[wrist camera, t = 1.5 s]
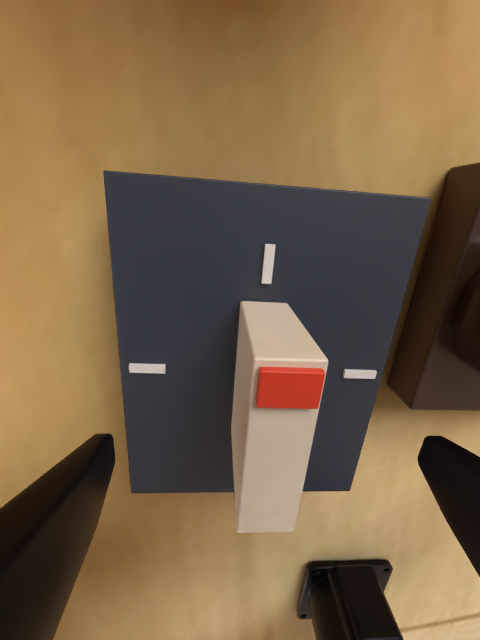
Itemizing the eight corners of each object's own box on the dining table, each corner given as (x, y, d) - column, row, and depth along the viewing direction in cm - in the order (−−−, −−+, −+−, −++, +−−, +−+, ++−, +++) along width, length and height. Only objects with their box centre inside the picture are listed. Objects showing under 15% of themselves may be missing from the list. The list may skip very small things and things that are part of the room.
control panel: (329, 446, 18) (351, 494, 15) (145, 446, 17) (130, 496, 14) (386, 200, 13) (436, 197, 10) (130, 179, 12) (100, 169, 9)
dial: (270, 429, 13) (296, 541, 9) (230, 429, 13) (236, 543, 8) (287, 302, 11) (333, 365, 7) (240, 300, 11) (254, 363, 6)
